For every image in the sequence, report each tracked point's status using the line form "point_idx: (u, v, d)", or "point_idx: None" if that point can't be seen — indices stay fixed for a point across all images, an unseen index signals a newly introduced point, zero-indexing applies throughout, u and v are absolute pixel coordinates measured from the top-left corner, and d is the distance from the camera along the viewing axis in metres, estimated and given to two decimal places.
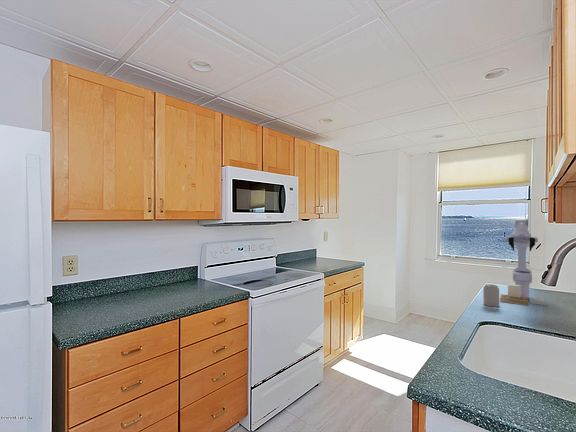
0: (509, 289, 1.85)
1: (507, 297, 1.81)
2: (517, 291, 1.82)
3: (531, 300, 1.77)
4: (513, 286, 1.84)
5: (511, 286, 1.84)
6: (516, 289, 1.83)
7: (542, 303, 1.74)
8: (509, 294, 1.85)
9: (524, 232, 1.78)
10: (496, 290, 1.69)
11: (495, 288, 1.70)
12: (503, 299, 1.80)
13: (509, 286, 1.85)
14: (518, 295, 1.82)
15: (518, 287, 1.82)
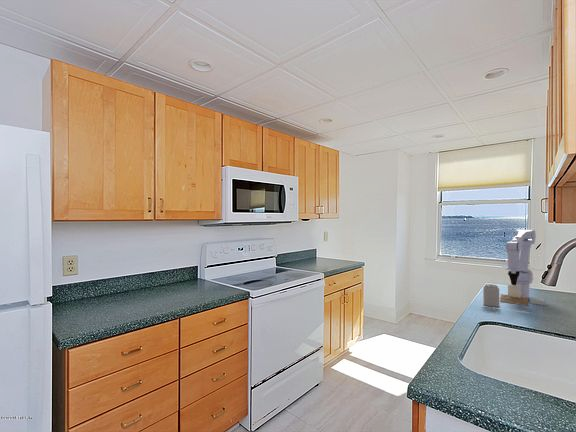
0: (509, 289, 1.85)
1: (507, 297, 1.81)
2: (517, 291, 1.82)
3: (531, 300, 1.77)
4: (513, 286, 1.84)
5: (511, 286, 1.84)
6: (516, 289, 1.83)
7: (542, 303, 1.74)
8: (509, 294, 1.85)
9: (508, 264, 1.85)
10: (496, 290, 1.69)
11: (495, 288, 1.70)
12: (503, 299, 1.80)
13: (509, 286, 1.85)
14: (518, 295, 1.82)
15: (518, 287, 1.82)
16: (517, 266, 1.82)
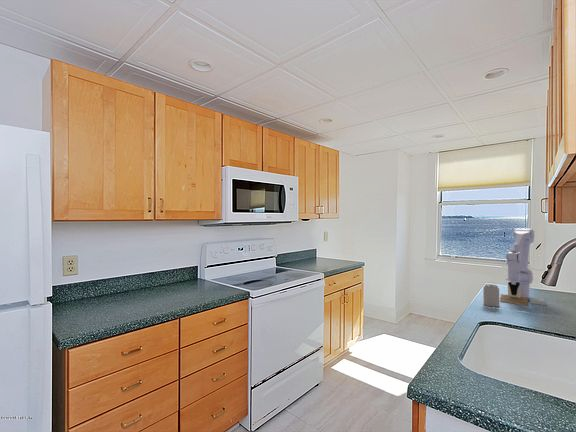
0: (509, 289, 1.85)
1: (507, 297, 1.81)
2: (517, 291, 1.82)
3: (531, 300, 1.77)
4: None
5: None
6: None
7: (542, 303, 1.74)
8: (509, 294, 1.85)
9: (508, 275, 1.85)
10: (496, 290, 1.69)
11: (495, 288, 1.70)
12: (503, 299, 1.80)
13: (509, 286, 1.85)
14: (518, 295, 1.82)
15: (518, 287, 1.82)
16: (517, 277, 1.82)
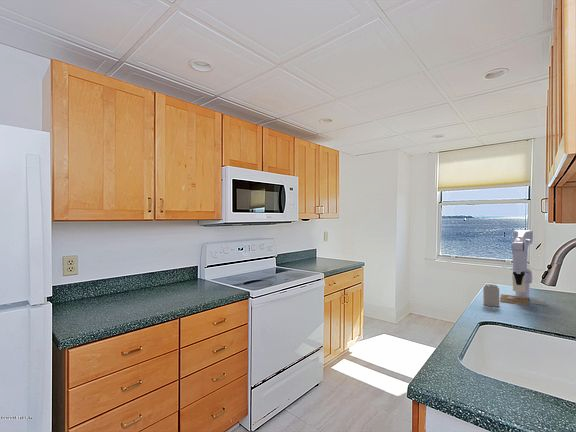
0: (514, 280, 1.84)
1: (507, 297, 1.81)
2: (522, 282, 1.81)
3: (531, 300, 1.77)
4: None
5: None
6: None
7: (542, 303, 1.74)
8: (514, 285, 1.83)
9: (513, 264, 1.84)
10: (496, 290, 1.69)
11: (495, 288, 1.70)
12: (503, 299, 1.80)
13: (514, 277, 1.84)
14: (523, 286, 1.81)
15: (523, 278, 1.81)
16: (522, 266, 1.80)
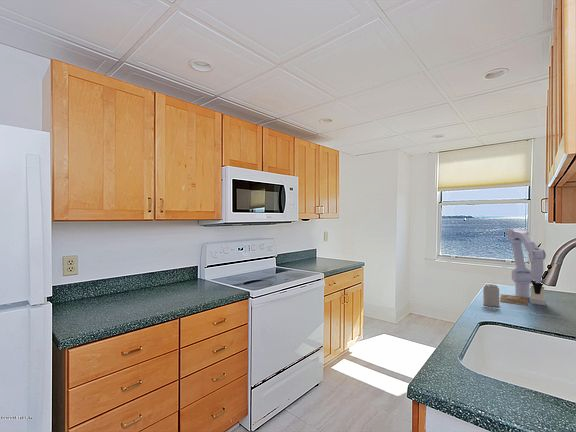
0: (532, 291, 1.78)
1: (507, 297, 1.81)
2: (541, 293, 1.76)
3: (531, 300, 1.77)
4: None
5: None
6: None
7: (542, 303, 1.74)
8: (532, 296, 1.78)
9: (531, 273, 1.78)
10: (496, 290, 1.69)
11: (495, 288, 1.70)
12: (503, 299, 1.80)
13: (532, 287, 1.78)
14: (542, 297, 1.75)
15: (542, 288, 1.75)
16: (541, 275, 1.75)
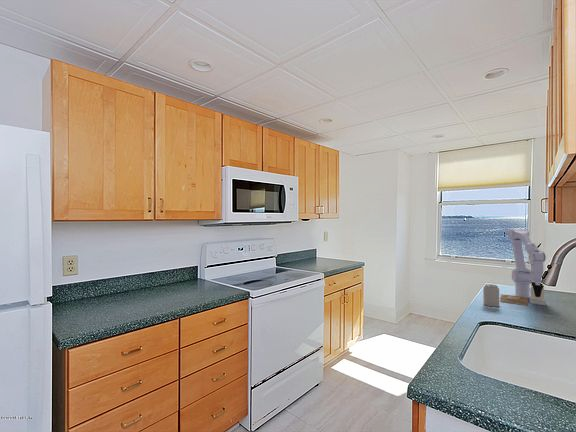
0: (532, 292, 1.78)
1: (507, 297, 1.81)
2: (541, 294, 1.76)
3: (531, 300, 1.77)
4: None
5: None
6: None
7: (542, 303, 1.74)
8: (532, 297, 1.78)
9: (531, 275, 1.78)
10: (496, 290, 1.69)
11: (495, 288, 1.70)
12: (503, 299, 1.80)
13: (532, 288, 1.78)
14: (542, 298, 1.75)
15: (542, 290, 1.75)
16: (541, 277, 1.75)
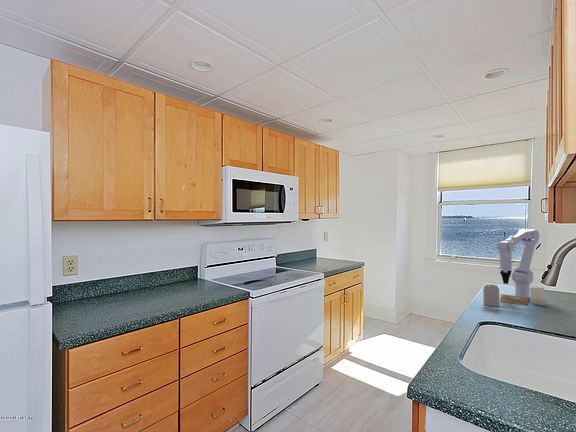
0: (532, 292, 1.78)
1: (507, 297, 1.81)
2: (541, 294, 1.76)
3: (531, 300, 1.77)
4: (537, 288, 1.77)
5: (534, 288, 1.78)
6: (540, 291, 1.76)
7: (542, 303, 1.74)
8: (532, 297, 1.78)
9: (500, 263, 1.88)
10: (496, 290, 1.69)
11: (495, 288, 1.70)
12: (503, 299, 1.80)
13: (532, 288, 1.78)
14: (542, 298, 1.75)
15: (542, 290, 1.75)
16: (509, 265, 1.85)
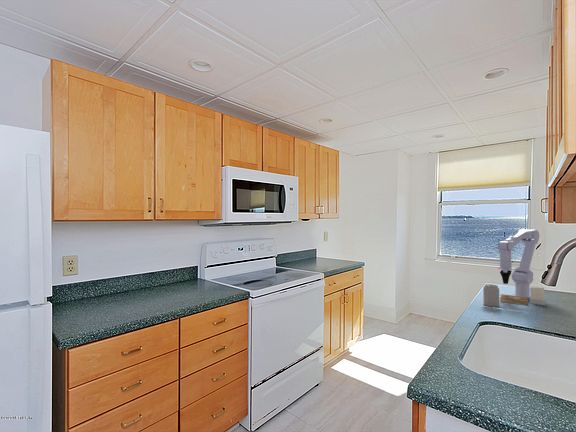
0: (532, 292, 1.78)
1: (507, 297, 1.81)
2: (541, 294, 1.76)
3: (531, 300, 1.77)
4: (537, 288, 1.77)
5: (534, 288, 1.78)
6: (540, 291, 1.76)
7: (542, 303, 1.74)
8: (532, 297, 1.78)
9: (500, 263, 1.88)
10: (496, 290, 1.69)
11: (495, 288, 1.70)
12: (503, 299, 1.80)
13: (532, 288, 1.78)
14: (542, 298, 1.75)
15: (542, 290, 1.75)
16: (509, 265, 1.85)
